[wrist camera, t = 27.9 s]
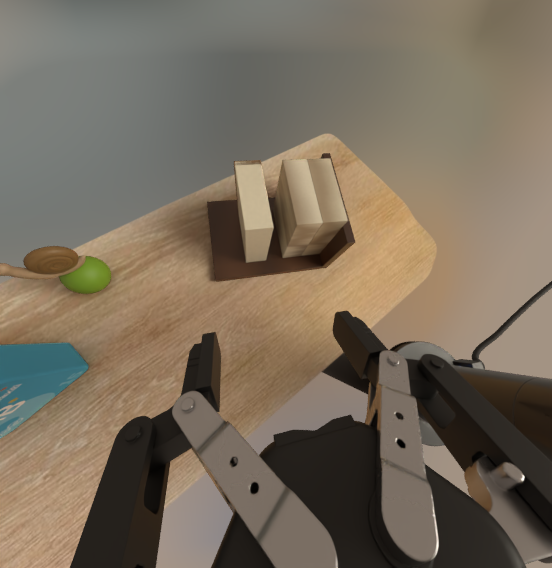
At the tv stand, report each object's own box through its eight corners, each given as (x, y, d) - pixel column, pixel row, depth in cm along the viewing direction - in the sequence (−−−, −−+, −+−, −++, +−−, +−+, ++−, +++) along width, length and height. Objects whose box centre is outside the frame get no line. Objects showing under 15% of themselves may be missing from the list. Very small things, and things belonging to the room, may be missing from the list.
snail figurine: (67, 279, 31) (-41, 245, 19) (109, 257, 32) (32, 214, 21) (83, 307, 30) (-19, 290, 19) (125, 284, 32) (55, 254, 20)
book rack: (309, 198, 41) (333, 144, 29) (326, 267, 37) (361, 237, 26) (208, 205, 37) (190, 146, 26) (216, 281, 34) (199, 253, 22)
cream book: (257, 209, 37) (260, 159, 27) (266, 260, 35) (274, 227, 24) (237, 211, 37) (233, 160, 26) (245, 262, 34) (244, 230, 24)
